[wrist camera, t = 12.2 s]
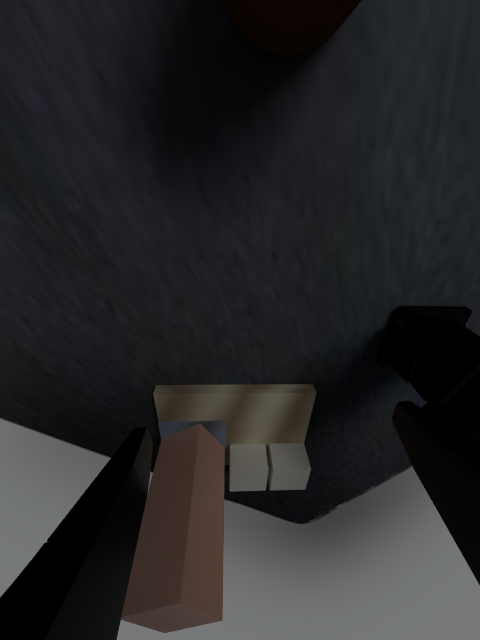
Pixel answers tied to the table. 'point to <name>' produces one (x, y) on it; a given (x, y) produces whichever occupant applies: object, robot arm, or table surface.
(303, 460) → the built blocks
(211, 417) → the board
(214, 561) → the tower block
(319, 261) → the table surface
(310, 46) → the mug
